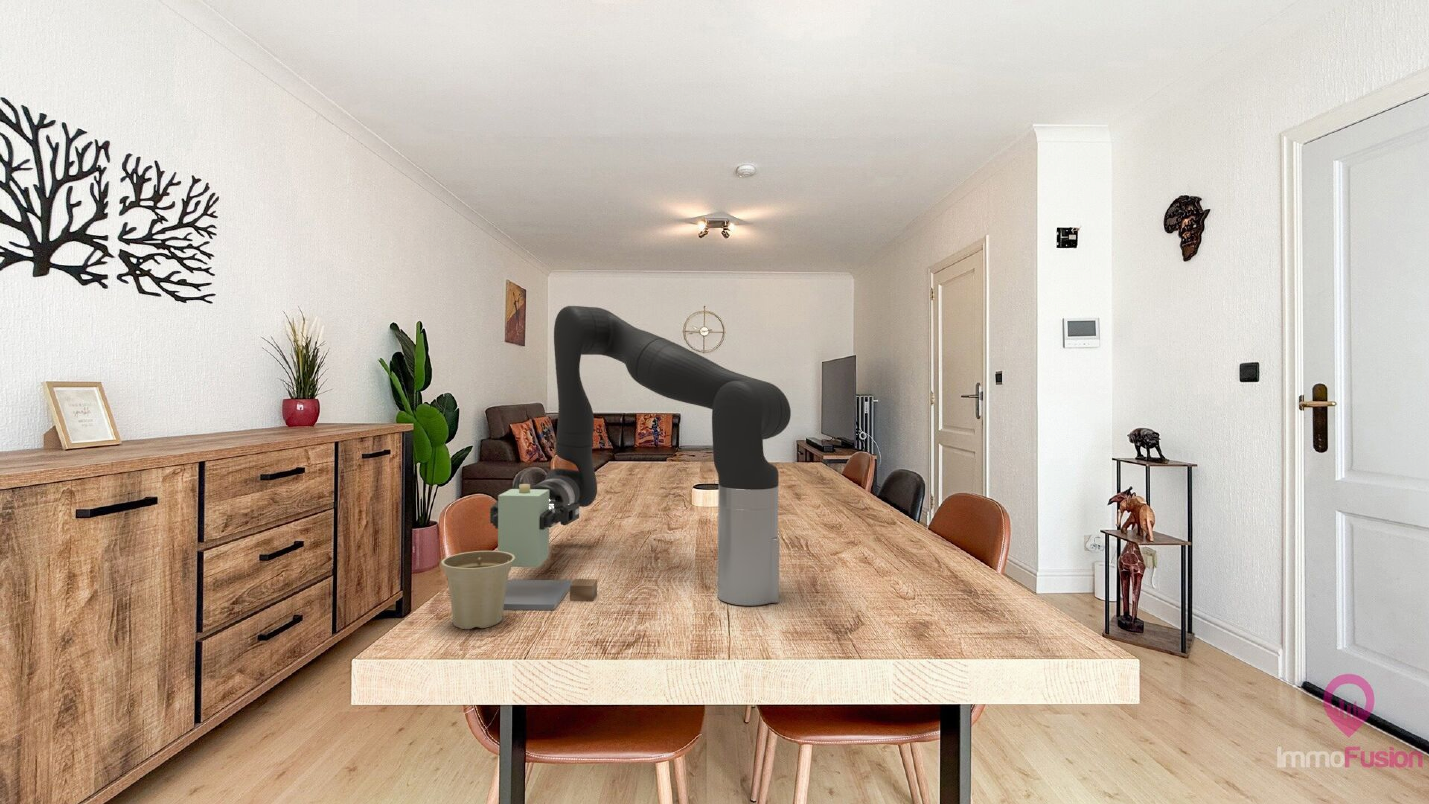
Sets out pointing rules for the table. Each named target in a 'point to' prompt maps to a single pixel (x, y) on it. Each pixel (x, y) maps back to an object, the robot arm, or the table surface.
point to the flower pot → (477, 586)
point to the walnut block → (583, 590)
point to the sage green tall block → (523, 525)
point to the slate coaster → (535, 594)
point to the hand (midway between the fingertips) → (519, 522)
